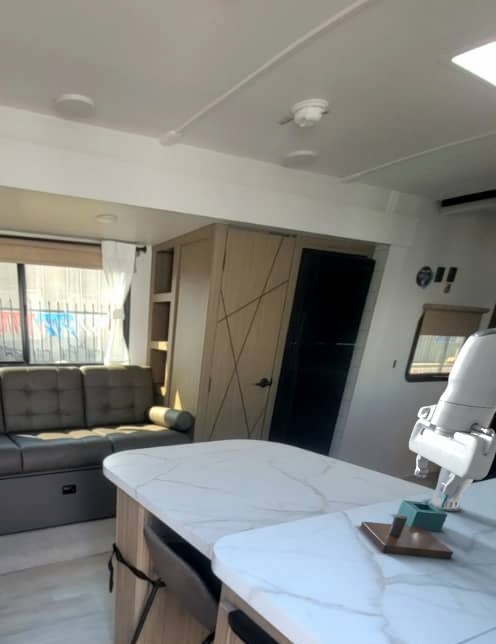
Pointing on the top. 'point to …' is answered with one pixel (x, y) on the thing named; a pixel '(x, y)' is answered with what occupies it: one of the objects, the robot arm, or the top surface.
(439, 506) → the beer glass
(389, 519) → the top surface
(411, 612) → the top surface
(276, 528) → the top surface
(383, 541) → the base pad
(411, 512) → the teal hollow square block
